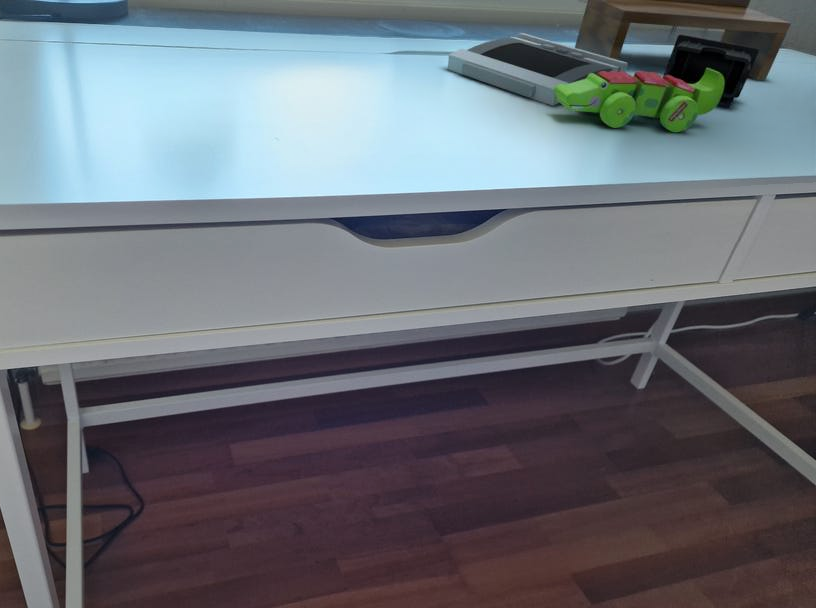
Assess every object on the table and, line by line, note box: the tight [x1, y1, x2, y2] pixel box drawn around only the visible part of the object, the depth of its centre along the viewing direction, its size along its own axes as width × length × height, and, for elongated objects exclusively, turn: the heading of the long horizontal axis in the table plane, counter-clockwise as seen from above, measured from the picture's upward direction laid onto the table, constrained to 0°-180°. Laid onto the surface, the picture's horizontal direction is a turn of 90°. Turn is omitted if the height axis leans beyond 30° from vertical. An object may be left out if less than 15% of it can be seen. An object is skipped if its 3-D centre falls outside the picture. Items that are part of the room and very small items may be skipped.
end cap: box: [662, 34, 759, 109], centre depth 89 cm, size 10×7×7 cm
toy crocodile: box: [554, 68, 725, 133], centre depth 77 cm, size 20×7×6 cm, turn 95°
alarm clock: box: [447, 32, 629, 107], centre depth 89 cm, size 17×5×16 cm
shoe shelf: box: [574, 0, 792, 81], centre depth 101 cm, size 12×26×10 cm, turn 96°
